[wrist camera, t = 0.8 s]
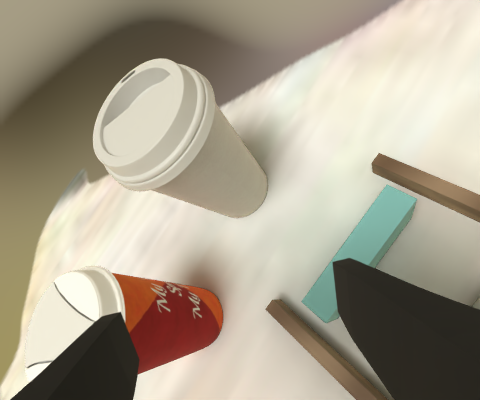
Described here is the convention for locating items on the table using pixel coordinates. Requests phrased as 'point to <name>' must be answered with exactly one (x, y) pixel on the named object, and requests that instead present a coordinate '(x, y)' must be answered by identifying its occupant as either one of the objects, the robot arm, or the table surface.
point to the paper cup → (133, 311)
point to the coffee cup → (176, 141)
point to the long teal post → (363, 246)
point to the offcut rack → (308, 338)
